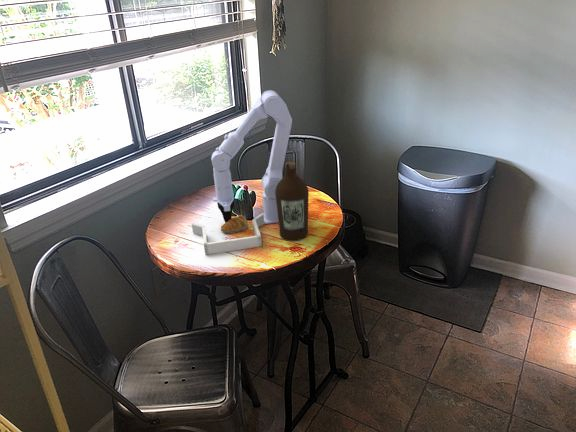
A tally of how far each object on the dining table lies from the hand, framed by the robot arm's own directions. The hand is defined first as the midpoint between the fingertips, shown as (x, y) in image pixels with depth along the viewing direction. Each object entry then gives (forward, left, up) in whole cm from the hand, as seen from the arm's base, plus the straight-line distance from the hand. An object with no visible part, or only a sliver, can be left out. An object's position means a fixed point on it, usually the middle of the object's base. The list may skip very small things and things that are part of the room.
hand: (227, 221), depth 165 cm
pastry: (-2, +4, -2) cm, 5 cm away
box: (0, +11, -1) cm, 11 cm away
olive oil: (-21, +15, -1) cm, 25 cm away
